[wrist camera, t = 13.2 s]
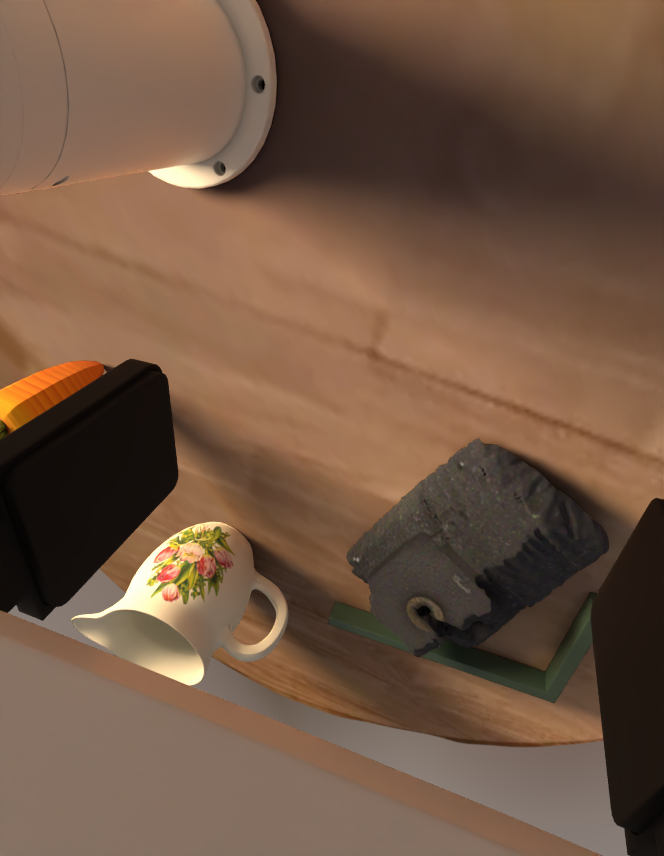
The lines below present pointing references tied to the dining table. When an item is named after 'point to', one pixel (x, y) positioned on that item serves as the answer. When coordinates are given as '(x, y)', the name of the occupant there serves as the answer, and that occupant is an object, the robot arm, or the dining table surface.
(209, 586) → the pitcher
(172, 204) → the dining table surface
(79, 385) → the carrot
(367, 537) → the dark slate chunk
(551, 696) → the corner stop
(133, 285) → the dining table surface
